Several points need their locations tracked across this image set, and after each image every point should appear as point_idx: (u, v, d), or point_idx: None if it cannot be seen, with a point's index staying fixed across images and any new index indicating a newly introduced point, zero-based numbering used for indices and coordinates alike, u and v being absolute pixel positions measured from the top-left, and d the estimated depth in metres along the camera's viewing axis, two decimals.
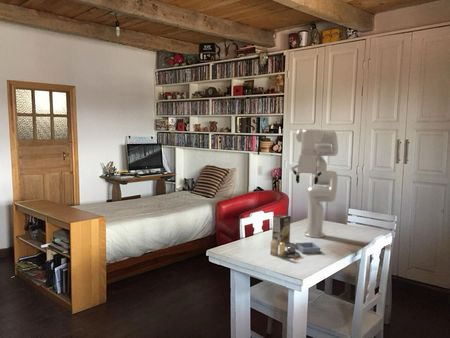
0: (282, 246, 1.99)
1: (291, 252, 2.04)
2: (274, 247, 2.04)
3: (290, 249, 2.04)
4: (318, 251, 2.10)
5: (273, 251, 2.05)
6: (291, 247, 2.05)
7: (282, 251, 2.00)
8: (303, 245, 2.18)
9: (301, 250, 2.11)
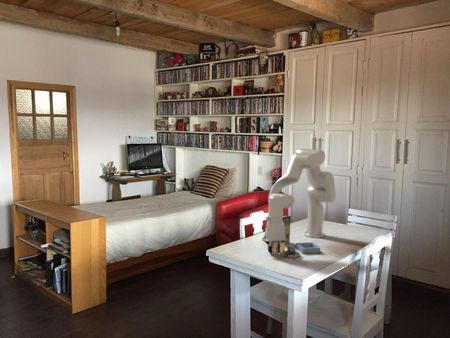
0: (282, 246, 1.99)
1: (291, 252, 2.04)
2: (274, 247, 2.04)
3: (290, 249, 2.04)
4: (318, 251, 2.10)
5: (273, 251, 2.05)
6: (291, 247, 2.05)
7: (282, 251, 2.00)
8: (303, 245, 2.18)
9: (301, 250, 2.11)
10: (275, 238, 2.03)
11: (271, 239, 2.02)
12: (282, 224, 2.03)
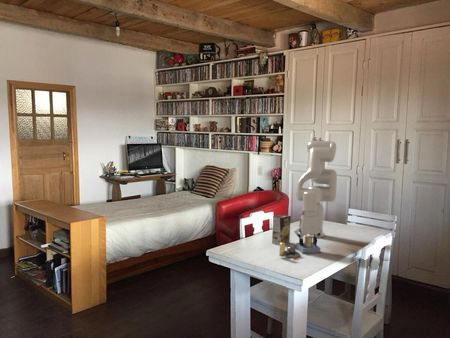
0: (282, 246, 1.99)
1: (291, 252, 2.04)
2: (308, 242, 2.12)
3: (290, 249, 2.04)
4: (318, 251, 2.10)
5: (307, 246, 2.12)
6: (291, 247, 2.05)
7: (282, 251, 2.00)
8: (303, 245, 2.18)
9: (301, 250, 2.11)
10: (309, 232, 2.10)
11: (305, 233, 2.10)
12: (316, 218, 2.10)
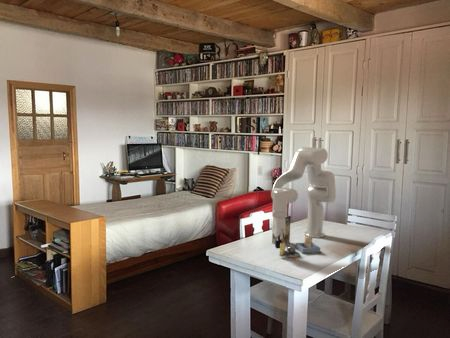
0: (282, 246, 1.99)
1: (291, 252, 2.04)
2: (309, 242, 2.12)
3: (290, 249, 2.04)
4: (318, 251, 2.10)
5: (308, 246, 2.12)
6: (291, 247, 2.05)
7: (282, 251, 1.99)
8: (303, 245, 2.18)
9: (301, 250, 2.11)
10: (273, 231, 2.03)
11: (272, 231, 2.06)
12: (276, 220, 1.99)
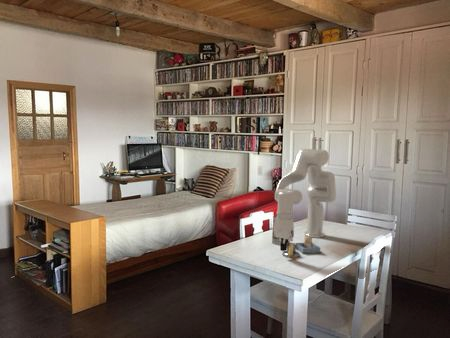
0: (292, 247, 1.97)
1: (293, 252, 2.04)
2: (308, 242, 2.12)
3: (292, 249, 2.04)
4: (318, 251, 2.10)
5: (308, 246, 2.12)
6: None
7: (292, 253, 1.97)
8: (303, 245, 2.18)
9: (301, 250, 2.11)
10: (279, 234, 1.98)
11: (276, 234, 2.00)
12: (285, 222, 1.95)
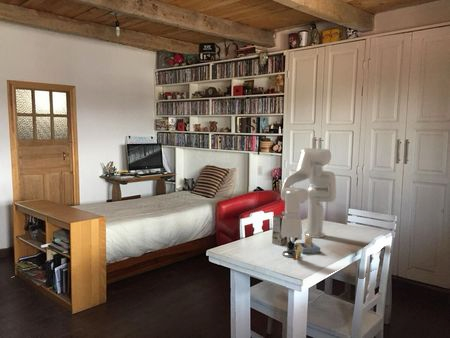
0: (300, 247, 1.98)
1: None
2: (309, 242, 2.12)
3: (294, 249, 2.04)
4: (318, 251, 2.10)
5: (308, 246, 2.12)
6: None
7: (300, 252, 1.98)
8: (303, 245, 2.18)
9: (301, 250, 2.11)
10: (289, 234, 1.96)
11: (285, 234, 1.96)
12: (297, 221, 1.94)
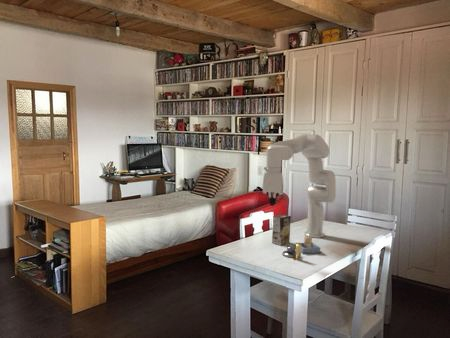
0: (300, 247, 1.98)
1: None
2: (309, 242, 2.12)
3: (294, 249, 2.04)
4: (318, 251, 2.10)
5: (308, 246, 2.12)
6: (292, 247, 2.05)
7: (300, 252, 1.98)
8: (303, 245, 2.18)
9: (301, 250, 2.11)
10: (270, 189, 1.99)
11: (266, 189, 2.00)
12: (278, 175, 1.97)
